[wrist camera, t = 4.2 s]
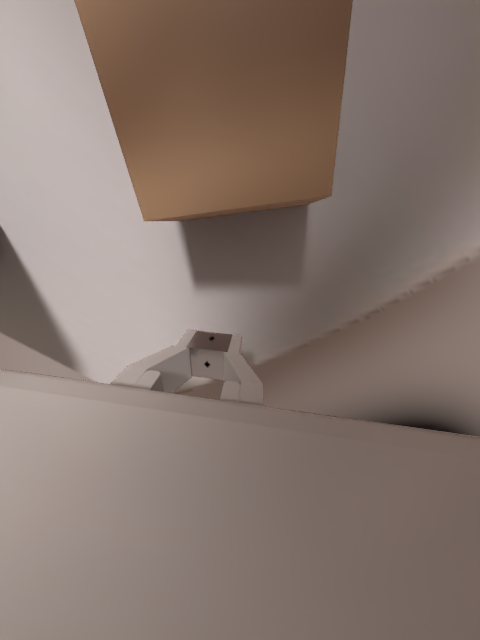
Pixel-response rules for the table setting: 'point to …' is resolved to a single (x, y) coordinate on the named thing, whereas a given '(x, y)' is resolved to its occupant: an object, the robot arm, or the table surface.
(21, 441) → the robot arm
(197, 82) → the walnut block
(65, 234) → the table surface
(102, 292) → the table surface
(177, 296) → the table surface
